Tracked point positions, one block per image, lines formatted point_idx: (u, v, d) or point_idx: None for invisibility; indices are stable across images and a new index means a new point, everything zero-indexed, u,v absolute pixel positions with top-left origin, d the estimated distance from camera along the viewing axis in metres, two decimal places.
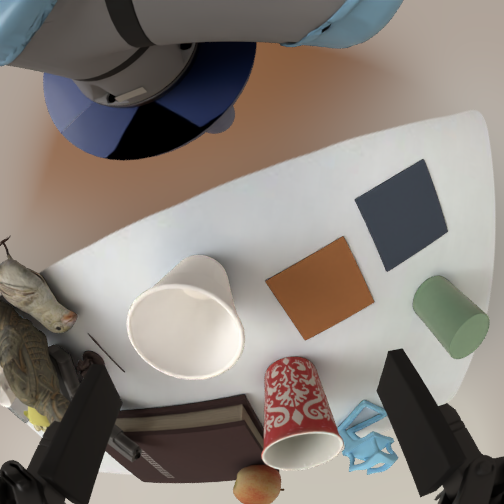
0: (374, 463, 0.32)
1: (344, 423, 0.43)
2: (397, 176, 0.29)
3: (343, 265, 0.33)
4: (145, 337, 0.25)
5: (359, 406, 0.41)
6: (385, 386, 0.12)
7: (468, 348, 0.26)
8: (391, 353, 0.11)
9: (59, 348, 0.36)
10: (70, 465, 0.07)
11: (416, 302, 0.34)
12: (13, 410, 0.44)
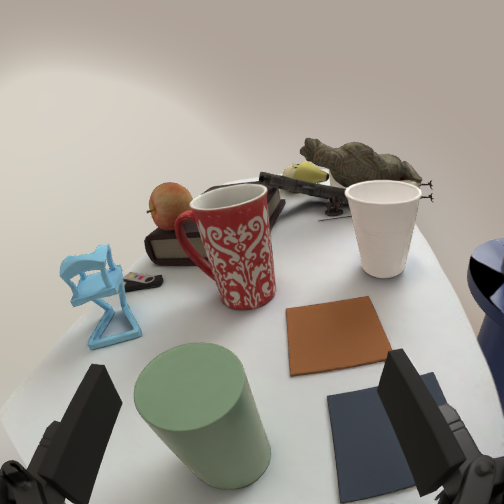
0: (98, 250, 0.31)
1: None
2: None
3: (361, 351, 0.26)
4: (378, 194, 0.38)
5: None
6: (385, 386, 0.12)
7: (160, 375, 0.15)
8: (391, 353, 0.11)
9: None
10: (70, 465, 0.07)
11: None
12: None
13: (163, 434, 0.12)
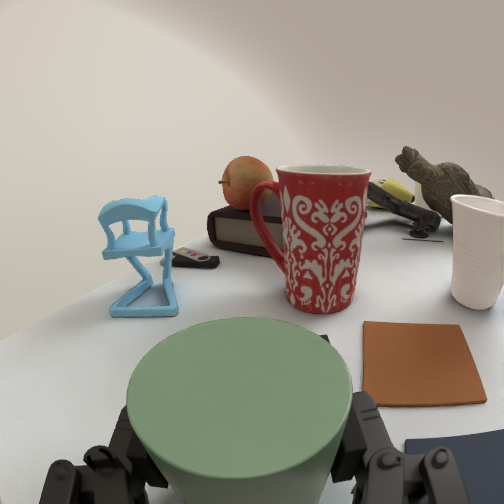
0: (152, 199, 0.27)
1: None
2: None
3: (450, 387, 0.16)
4: None
5: None
6: None
7: (190, 356, 0.09)
8: None
9: (436, 226, 0.49)
10: None
11: None
12: None
13: (162, 466, 0.06)
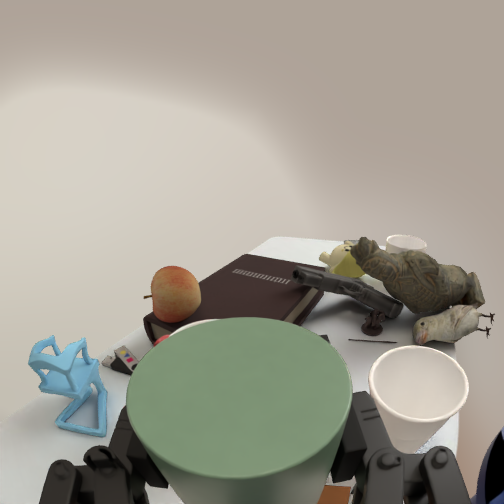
0: (64, 354, 0.25)
1: (104, 400, 0.32)
2: None
3: None
4: (418, 363, 0.25)
5: (104, 427, 0.28)
6: None
7: (189, 356, 0.09)
8: None
9: (396, 315, 0.47)
10: None
11: None
12: None
13: (162, 466, 0.06)
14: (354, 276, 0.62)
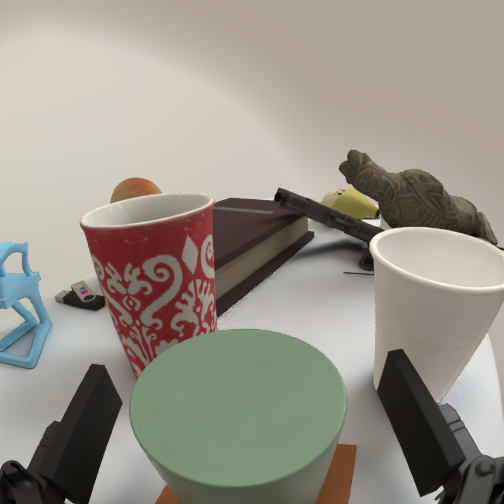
0: None
1: (45, 330, 0.26)
2: None
3: None
4: (436, 254, 0.19)
5: (35, 356, 0.22)
6: (385, 386, 0.12)
7: (190, 368, 0.09)
8: (391, 353, 0.11)
9: None
10: (70, 465, 0.07)
11: None
12: None
13: (164, 474, 0.06)
14: None
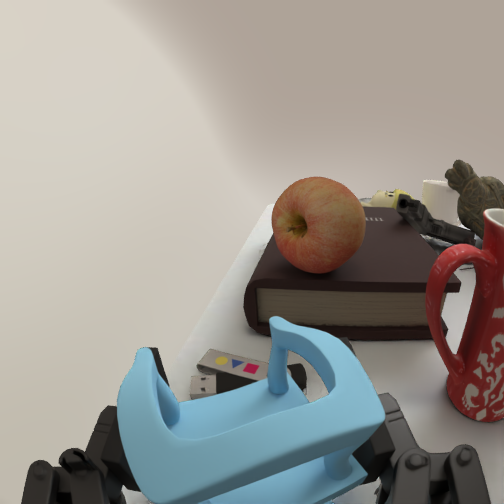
0: (342, 368, 0.07)
1: None
2: None
3: None
4: None
5: None
6: None
7: None
8: None
9: None
10: None
11: None
12: (368, 199, 0.75)
13: None
14: None
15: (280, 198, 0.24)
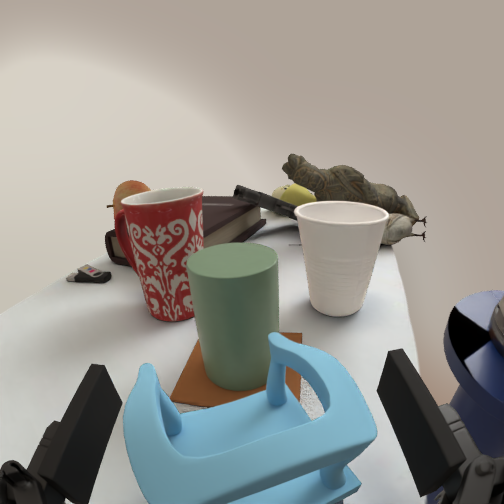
0: (337, 388, 0.07)
1: None
2: None
3: None
4: (343, 217, 0.34)
5: None
6: (385, 386, 0.12)
7: (210, 254, 0.21)
8: (391, 353, 0.11)
9: None
10: (70, 465, 0.07)
11: None
12: None
13: (207, 287, 0.18)
14: None
15: None
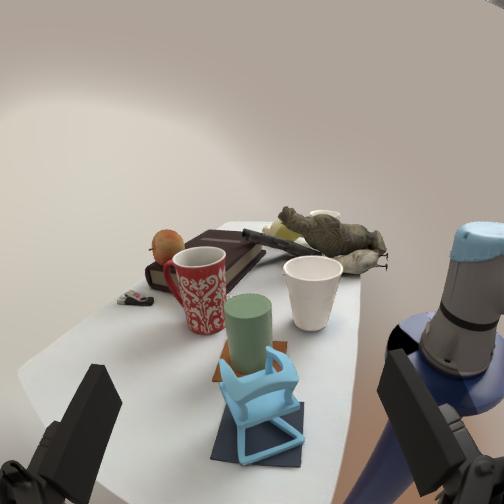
0: (285, 365, 0.26)
1: None
2: None
3: None
4: (316, 266, 0.52)
5: None
6: (385, 386, 0.12)
7: (235, 302, 0.40)
8: (391, 353, 0.11)
9: None
10: (70, 465, 0.07)
11: None
12: None
13: (236, 322, 0.37)
14: None
15: (154, 237, 0.63)
